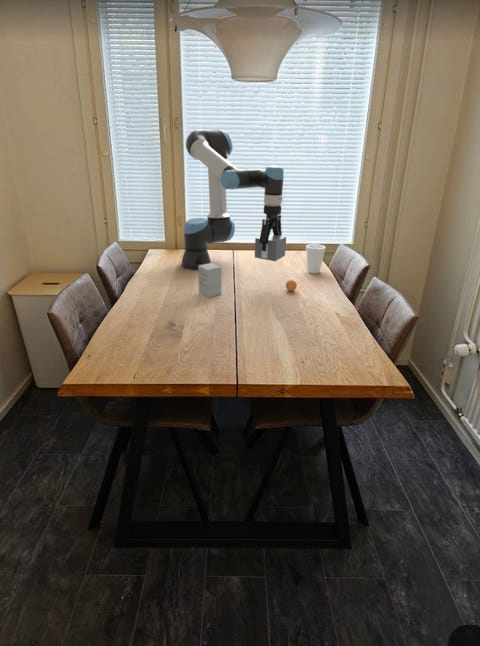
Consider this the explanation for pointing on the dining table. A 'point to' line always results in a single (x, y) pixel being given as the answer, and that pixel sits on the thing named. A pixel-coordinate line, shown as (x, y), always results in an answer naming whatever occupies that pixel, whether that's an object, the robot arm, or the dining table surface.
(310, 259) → the foam cup
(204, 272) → the supplement box
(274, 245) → the grey square block
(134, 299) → the dining table surface
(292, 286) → the orange egg
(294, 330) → the dining table surface
